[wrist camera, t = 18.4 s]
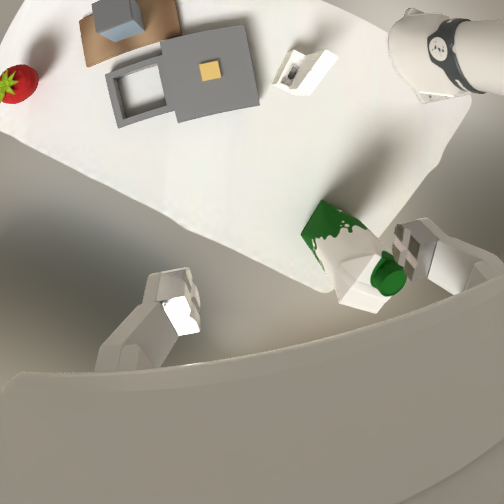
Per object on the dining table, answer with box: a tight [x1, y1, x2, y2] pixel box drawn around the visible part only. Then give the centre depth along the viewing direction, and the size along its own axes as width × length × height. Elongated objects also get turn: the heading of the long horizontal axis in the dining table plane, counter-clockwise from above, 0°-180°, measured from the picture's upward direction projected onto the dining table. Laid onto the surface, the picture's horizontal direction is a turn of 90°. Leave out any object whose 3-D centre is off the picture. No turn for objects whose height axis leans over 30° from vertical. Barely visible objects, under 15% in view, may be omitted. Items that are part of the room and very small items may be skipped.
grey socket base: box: [105, 25, 260, 128], centre depth 32 cm, size 19×12×4 cm, turn 100°
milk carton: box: [301, 200, 407, 313], centre depth 41 cm, size 9×9×20 cm
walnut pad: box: [79, 0, 182, 67], centre depth 27 cm, size 14×8×1 cm, turn 100°
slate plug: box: [92, 0, 145, 42], centre depth 23 cm, size 4×4×8 cm
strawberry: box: [0, 64, 39, 104], centre depth 23 cm, size 6×8×10 cm
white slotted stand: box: [272, 49, 339, 96], centre depth 31 cm, size 4×10×9 cm, turn 156°
